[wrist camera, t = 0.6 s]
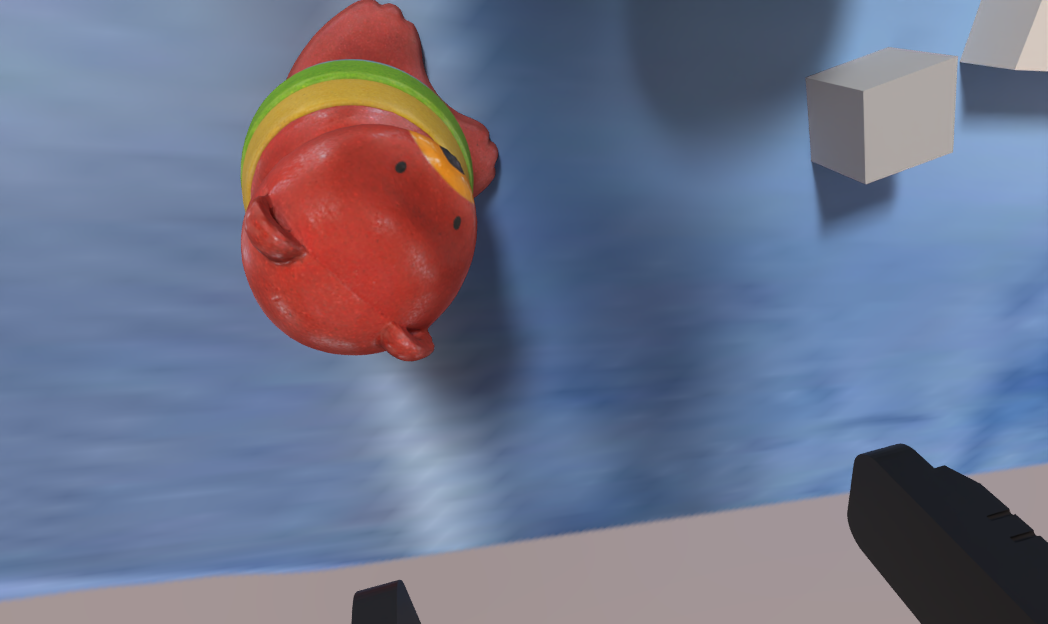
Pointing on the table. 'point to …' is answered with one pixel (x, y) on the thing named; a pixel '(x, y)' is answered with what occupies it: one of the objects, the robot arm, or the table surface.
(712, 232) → the table surface
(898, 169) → the grey block
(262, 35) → the table surface
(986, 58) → the base block
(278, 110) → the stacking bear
